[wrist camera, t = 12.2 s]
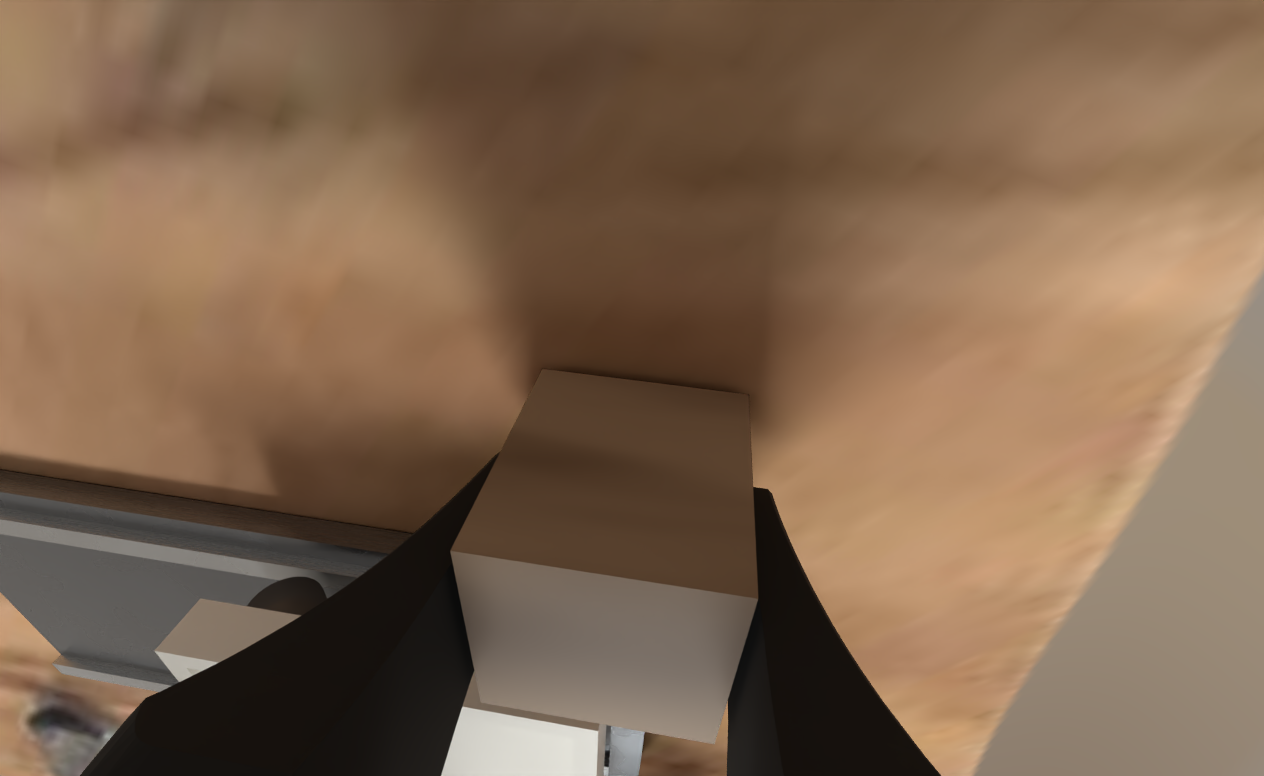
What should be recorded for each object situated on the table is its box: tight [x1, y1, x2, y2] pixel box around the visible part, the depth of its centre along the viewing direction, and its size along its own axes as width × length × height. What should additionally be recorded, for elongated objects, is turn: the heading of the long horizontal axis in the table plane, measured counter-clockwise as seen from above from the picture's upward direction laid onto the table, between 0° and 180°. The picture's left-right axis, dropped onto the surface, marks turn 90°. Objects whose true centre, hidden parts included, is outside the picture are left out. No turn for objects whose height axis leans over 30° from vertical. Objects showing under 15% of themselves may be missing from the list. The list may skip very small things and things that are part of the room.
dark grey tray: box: [0, 470, 645, 776], centre depth 20 cm, size 12×24×2 cm, turn 87°
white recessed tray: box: [155, 576, 606, 776], centre depth 18 cm, size 11×11×3 cm
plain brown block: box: [450, 369, 758, 744], centre depth 11 cm, size 4×4×5 cm
